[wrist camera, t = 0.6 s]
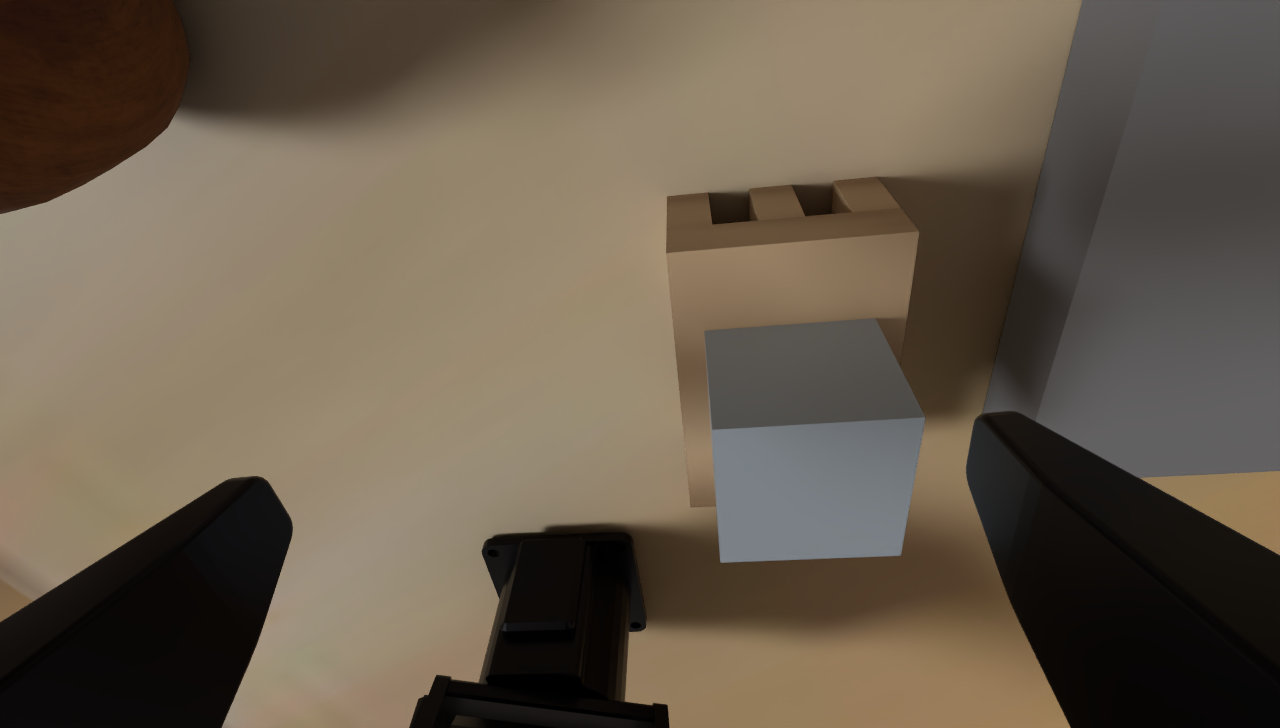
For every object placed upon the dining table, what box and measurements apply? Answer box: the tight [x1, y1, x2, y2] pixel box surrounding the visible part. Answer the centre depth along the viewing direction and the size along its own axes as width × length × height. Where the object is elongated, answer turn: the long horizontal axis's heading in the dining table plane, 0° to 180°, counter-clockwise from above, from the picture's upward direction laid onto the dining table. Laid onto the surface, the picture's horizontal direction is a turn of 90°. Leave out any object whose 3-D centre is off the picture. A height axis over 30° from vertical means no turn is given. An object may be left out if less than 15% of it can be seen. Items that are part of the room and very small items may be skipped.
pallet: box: [666, 177, 919, 507], centre depth 20 cm, size 9×6×4 cm, turn 6°
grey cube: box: [704, 318, 926, 563], centre depth 16 cm, size 4×4×4 cm
